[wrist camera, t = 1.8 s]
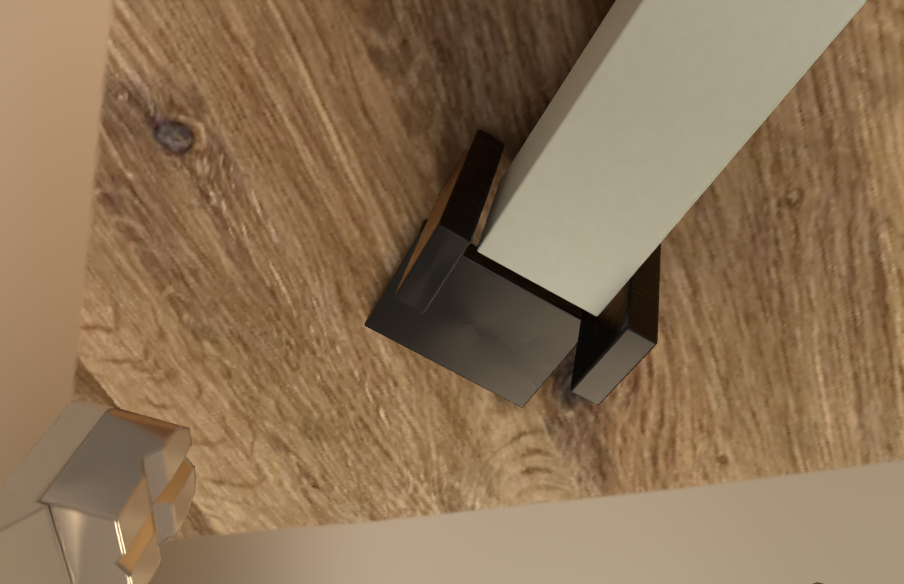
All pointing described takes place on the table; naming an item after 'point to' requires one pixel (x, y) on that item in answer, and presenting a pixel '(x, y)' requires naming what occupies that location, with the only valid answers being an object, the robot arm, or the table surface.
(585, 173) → the vial
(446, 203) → the stand
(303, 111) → the table surface
